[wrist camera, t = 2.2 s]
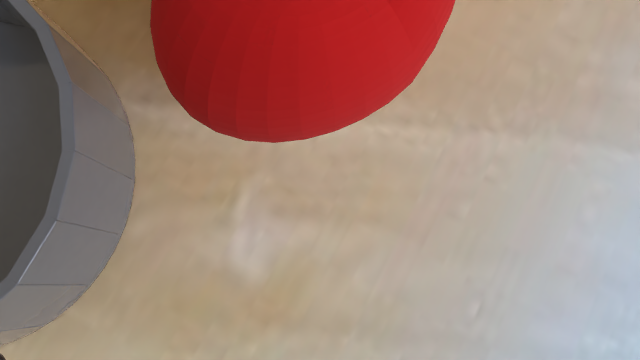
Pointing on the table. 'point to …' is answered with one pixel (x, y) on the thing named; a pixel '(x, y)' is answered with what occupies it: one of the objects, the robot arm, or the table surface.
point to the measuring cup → (55, 170)
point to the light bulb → (291, 60)
